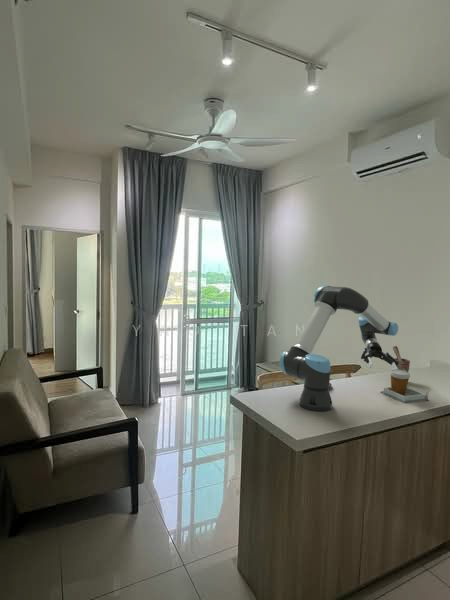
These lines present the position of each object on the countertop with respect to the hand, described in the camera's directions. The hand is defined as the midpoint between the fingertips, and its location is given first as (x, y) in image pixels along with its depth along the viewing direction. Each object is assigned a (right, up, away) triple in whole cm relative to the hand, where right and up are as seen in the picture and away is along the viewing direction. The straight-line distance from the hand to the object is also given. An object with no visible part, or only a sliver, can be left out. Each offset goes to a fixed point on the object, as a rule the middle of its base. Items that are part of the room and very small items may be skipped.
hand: (383, 368), depth 194 cm
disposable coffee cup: (+6, -13, -4) cm, 15 cm away
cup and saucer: (-31, -12, +9) cm, 35 cm away
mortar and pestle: (+19, -12, +25) cm, 34 cm away
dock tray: (+9, -14, -4) cm, 17 cm away
